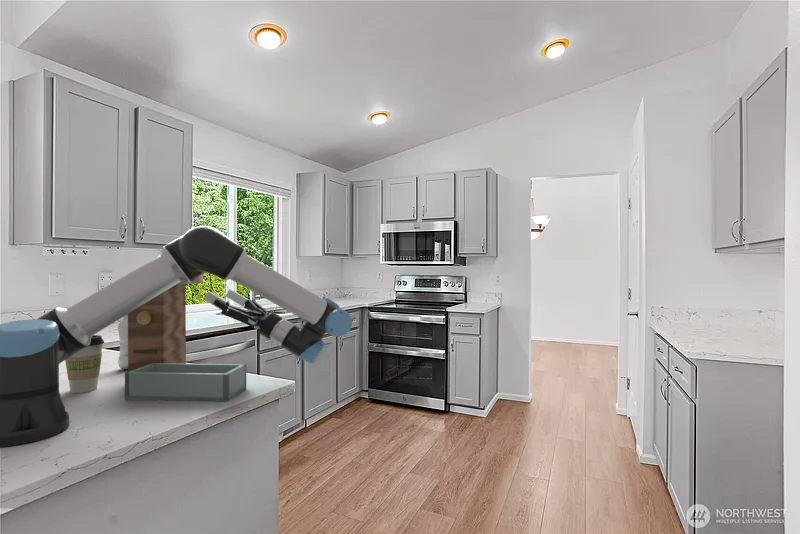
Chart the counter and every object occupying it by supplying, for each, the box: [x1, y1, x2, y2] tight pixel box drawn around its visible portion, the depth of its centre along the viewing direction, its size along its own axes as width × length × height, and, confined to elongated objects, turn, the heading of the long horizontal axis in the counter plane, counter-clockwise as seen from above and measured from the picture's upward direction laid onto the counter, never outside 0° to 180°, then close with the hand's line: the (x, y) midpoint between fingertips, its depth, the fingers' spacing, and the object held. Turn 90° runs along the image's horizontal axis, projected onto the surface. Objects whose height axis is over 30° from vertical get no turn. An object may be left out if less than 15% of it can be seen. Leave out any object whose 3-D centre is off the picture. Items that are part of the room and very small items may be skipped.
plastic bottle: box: [117, 314, 128, 370], centre depth 152 cm, size 6×7×20 cm
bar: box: [178, 274, 204, 285], centre depth 137 cm, size 4×20×4 cm, turn 80°
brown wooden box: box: [127, 284, 189, 372], centre depth 138 cm, size 14×12×31 cm
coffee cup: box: [64, 334, 105, 394], centre depth 127 cm, size 10×10×15 cm
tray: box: [124, 362, 247, 402], centre depth 123 cm, size 12×28×7 cm, turn 86°
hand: (217, 293), depth 137 cm, fingers open, 13 cm apart
